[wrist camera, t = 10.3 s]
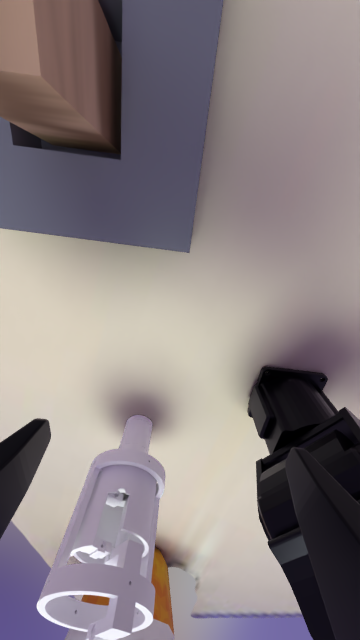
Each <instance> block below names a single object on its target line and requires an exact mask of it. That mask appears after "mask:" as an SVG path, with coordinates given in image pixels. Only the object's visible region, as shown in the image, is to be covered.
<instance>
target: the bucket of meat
mask: <svg viewBox="0 0 360 640" xmlns="http://www.w3.org/2000/svg"><path fill="white" fill-rule="evenodd" d="M151 583H152V584H153V586H154V587H155V602H154V614H153V621H152V623H151V624H150V625H149V626H148V627H146V628H144V629H142V630H139V631H135V632H132V634H130V635H128V636H125V637H123V638H119V639H116V640H174V629H173V619H172V608H171V597H170V587H169V577H168V567H167V565H166V562H165V560H164V558H163V556H162V554H161V552H160V550H158V549H157V548H155V549H154V559H153V569H152V579H151ZM109 600H110V598H109V597H103V596H96V595H83V598H82V600H81V601H82V602H86V603H90V604H96V605H105V606H108V605H109ZM86 636H87V632H84V631H79V630H74V629H69V631H68V634H67V636H66V638H65V640H86Z"/></svg>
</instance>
